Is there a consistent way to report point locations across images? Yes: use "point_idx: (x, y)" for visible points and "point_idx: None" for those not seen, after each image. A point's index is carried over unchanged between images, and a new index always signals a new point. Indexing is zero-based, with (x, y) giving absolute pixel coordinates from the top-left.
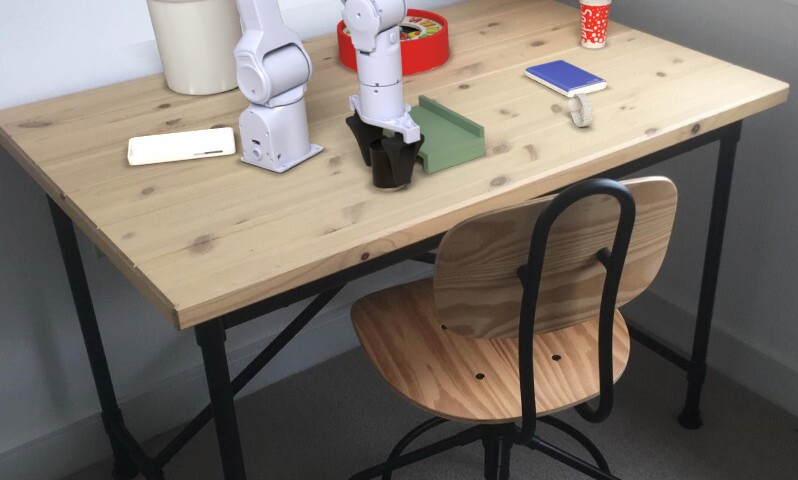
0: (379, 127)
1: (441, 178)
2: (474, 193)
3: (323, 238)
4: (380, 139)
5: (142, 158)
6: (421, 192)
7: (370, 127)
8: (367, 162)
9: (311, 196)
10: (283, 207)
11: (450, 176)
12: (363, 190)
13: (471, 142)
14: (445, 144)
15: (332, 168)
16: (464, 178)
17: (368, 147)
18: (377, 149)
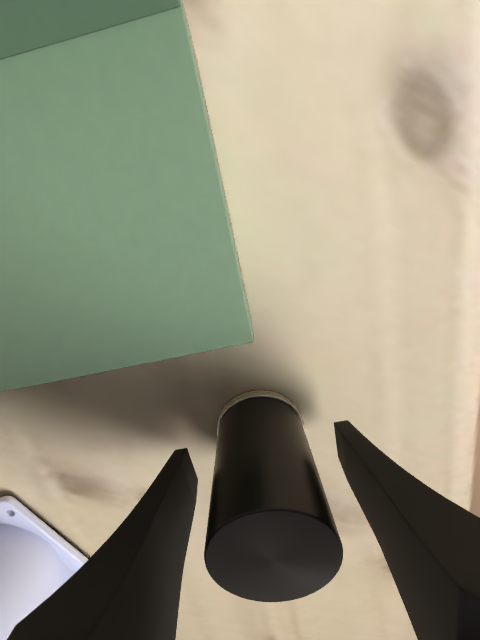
0: (138, 586)
1: (293, 293)
2: (441, 241)
3: None
4: (211, 560)
5: None
6: (342, 373)
7: (148, 635)
8: (196, 494)
9: None
10: None
11: (295, 262)
12: None
13: (200, 89)
14: (189, 235)
15: (118, 499)
16: (331, 226)
17: (180, 537)
18: (299, 590)
